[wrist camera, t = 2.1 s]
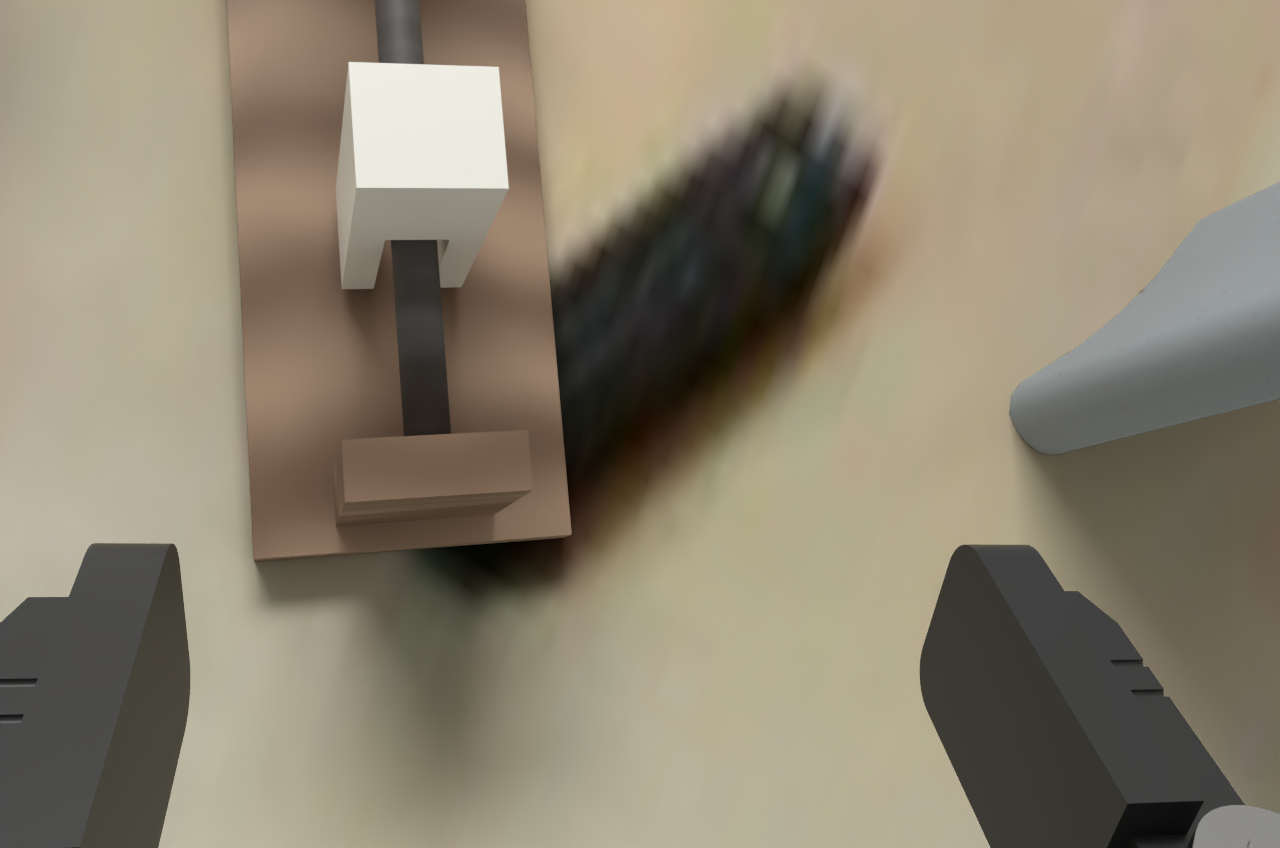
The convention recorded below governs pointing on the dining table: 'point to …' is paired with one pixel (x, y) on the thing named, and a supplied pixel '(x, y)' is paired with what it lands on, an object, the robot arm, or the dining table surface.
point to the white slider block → (418, 164)
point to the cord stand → (387, 304)
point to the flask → (1172, 341)
